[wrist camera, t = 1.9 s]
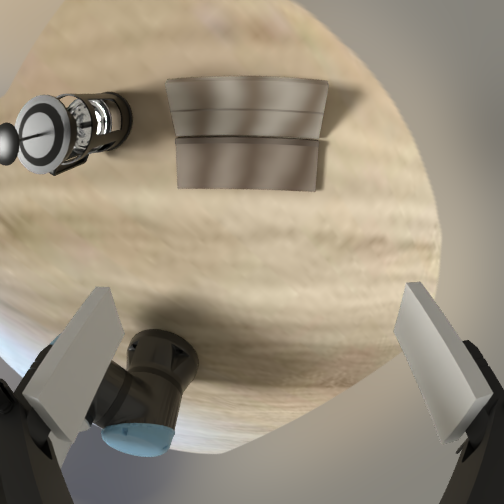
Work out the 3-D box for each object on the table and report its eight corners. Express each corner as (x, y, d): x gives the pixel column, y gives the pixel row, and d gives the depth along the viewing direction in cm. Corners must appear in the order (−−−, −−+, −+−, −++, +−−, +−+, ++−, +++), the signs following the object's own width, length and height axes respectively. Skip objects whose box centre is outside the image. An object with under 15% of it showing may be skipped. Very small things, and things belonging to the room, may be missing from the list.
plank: (177, 130, 42) (175, 136, 41) (167, 79, 34) (164, 84, 33) (317, 133, 41) (318, 139, 41) (327, 80, 33) (328, 85, 33)
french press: (98, 79, 38) (-7, 78, 17) (145, 102, 40) (51, 108, 19) (70, 145, 42) (-32, 183, 22) (113, 169, 44) (19, 223, 24)
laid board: (179, 186, 45) (177, 189, 44) (177, 137, 42) (175, 138, 41) (313, 189, 45) (315, 192, 44) (317, 139, 42) (319, 141, 40)
